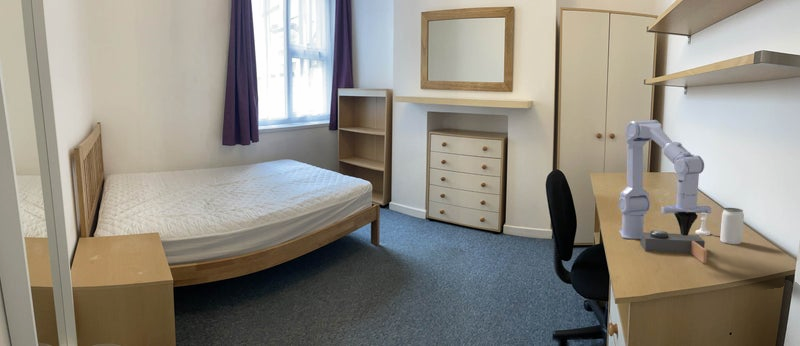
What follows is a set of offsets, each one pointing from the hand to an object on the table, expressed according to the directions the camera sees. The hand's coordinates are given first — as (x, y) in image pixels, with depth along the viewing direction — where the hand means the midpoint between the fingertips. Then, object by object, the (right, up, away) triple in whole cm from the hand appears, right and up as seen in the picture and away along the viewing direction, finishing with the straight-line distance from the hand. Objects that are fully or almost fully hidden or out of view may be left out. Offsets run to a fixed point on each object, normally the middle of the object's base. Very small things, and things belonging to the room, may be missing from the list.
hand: (684, 234), depth 161 cm
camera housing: (+2, -6, +11) cm, 13 cm away
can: (+26, -5, +17) cm, 32 cm away
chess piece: (+23, -3, +28) cm, 36 cm away
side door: (+6, -8, +1) cm, 10 cm away
